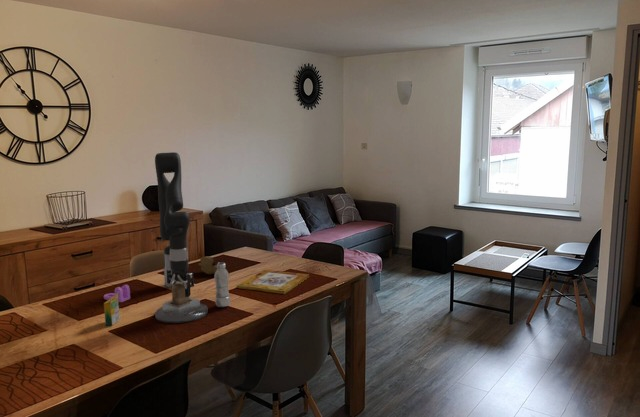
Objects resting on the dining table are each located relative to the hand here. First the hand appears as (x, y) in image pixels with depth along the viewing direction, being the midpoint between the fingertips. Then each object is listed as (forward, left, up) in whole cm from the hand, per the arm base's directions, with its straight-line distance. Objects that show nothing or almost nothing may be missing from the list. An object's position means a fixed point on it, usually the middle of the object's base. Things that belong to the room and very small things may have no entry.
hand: (180, 294), depth 213 cm
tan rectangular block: (0, 0, -7) cm, 7 cm away
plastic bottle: (+9, +16, -9) cm, 20 cm away
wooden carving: (-34, +52, -9) cm, 63 cm away
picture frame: (+7, +57, -9) cm, 58 cm away
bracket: (-43, -2, -9) cm, 44 cm away
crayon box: (-17, -22, -9) cm, 29 cm away
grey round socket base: (0, 0, -9) cm, 9 cm away
